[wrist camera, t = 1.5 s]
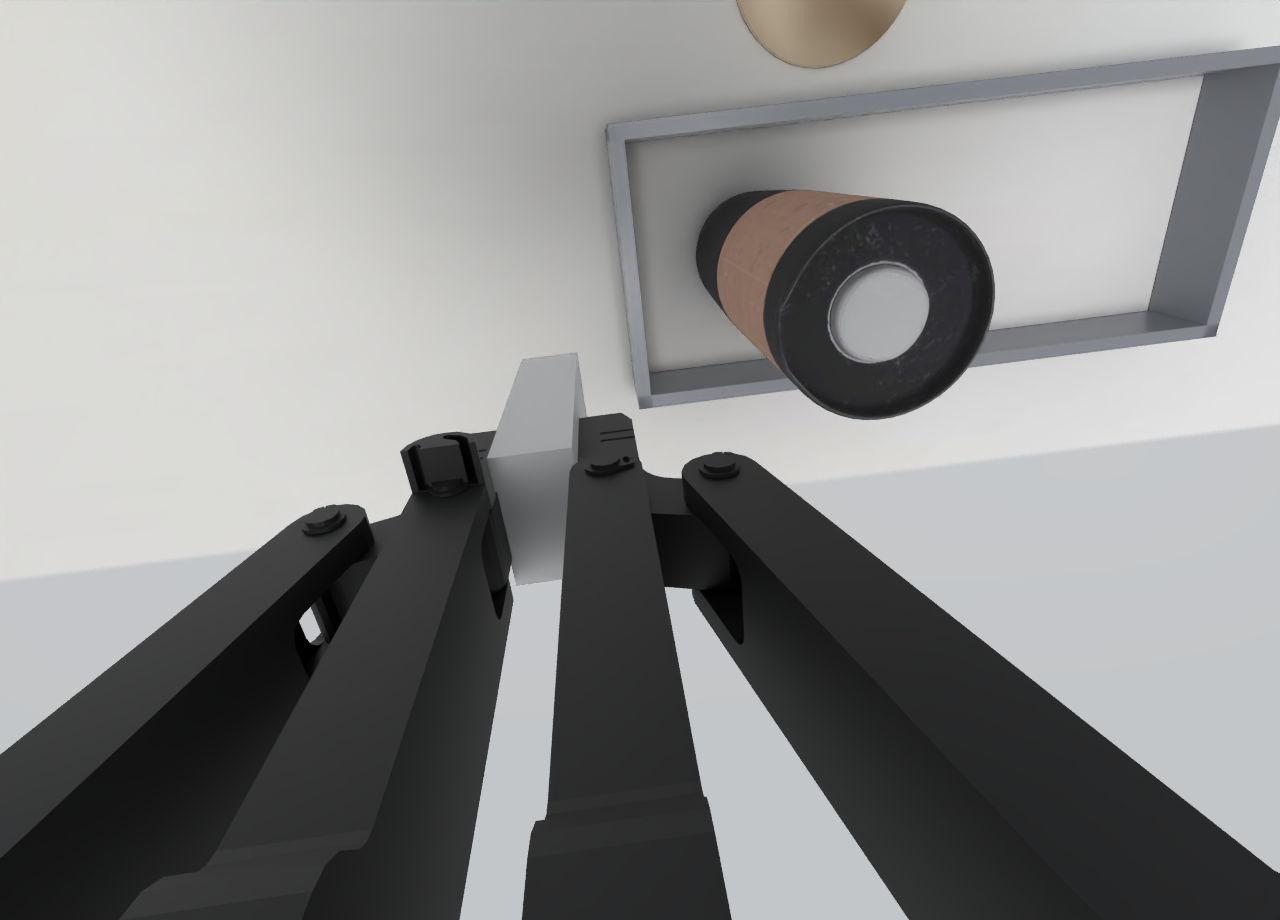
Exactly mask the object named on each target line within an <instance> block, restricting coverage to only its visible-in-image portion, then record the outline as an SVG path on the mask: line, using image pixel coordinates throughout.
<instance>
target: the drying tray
mask: <svg viewBox="0 0 1280 920" xmlns="http://www.w3.org/2000/svg"><path fill="white" fill-rule="evenodd" d="M1201 75H1205V76H1204V80H1203V84H1202V88H1201V92H1200V97H1199V101H1198V105H1197V109H1196V113H1195V117H1194V121H1193V126H1192V130H1191V134H1190V138H1189V142H1188V146H1187V151H1186V155H1185V159H1184V163H1183V167H1182V171H1181V175H1180V180H1179V184H1178V188H1177V192H1176V196H1175V200H1174V204H1173V209H1172V213H1171V217H1170V221H1169V225H1168V229H1167V234H1166V238H1165V242H1164V246H1163V250H1162V254H1161V258H1160V263H1159V267H1158V271H1157V275H1156V279H1155V283H1154V287H1153V292H1152V296H1151V300H1150V304H1149V308H1148V311H1143V312H1135V313H1127V314H1119V315H1111V316H1103V317H1095V318H1087V319H1079V320H1071V321H1063V322H1055V323H1047V324H1039V325H1031V326H1023V327H1015V328H1007V329H999V330H992V331H988V332H987V335H986V337H985V340H984V342H983V344H982V346H981V348H980V350H979V352H978V353H977V355H976V357H975V358H974V360H973V361H972V363H971V364H970V366H969V367H977V366H985V365H993V364H1001V363H1009V362H1017V361H1025V360H1033V359H1040V358H1048V357H1056V356H1064V355H1072V354H1080V353H1088V352H1096V351H1104V350H1112V349H1119V348H1127V347H1135V346H1143V345H1151V344H1159V343H1167V342H1175V341H1183V340H1191V339H1198V338H1206V337H1214V336H1216V333H1217V329H1218V326H1219V322H1220V319H1221V315H1222V312H1223V309H1224V305H1225V302H1226V298H1227V295H1228V291H1229V288H1230V285H1231V281H1232V278H1233V274H1234V271H1235V268H1236V264H1237V261H1238V257H1239V254H1240V250H1241V247H1242V244H1243V240H1244V237H1245V233H1246V230H1247V226H1248V223H1249V220H1250V216H1251V213H1252V209H1253V206H1254V203H1255V199H1256V196H1257V192H1258V189H1259V185H1260V182H1261V179H1262V175H1263V172H1264V168H1265V165H1266V161H1267V158H1268V155H1269V151H1270V148H1271V144H1272V141H1273V138H1274V134H1275V131H1276V127H1277V124H1278V120H1279V117H1280V46H1272V47H1264V48H1255V49H1246V50H1238V51H1229V52H1221V53H1212V54H1204V55H1195V56H1186V57H1178V58H1169V59H1161V60H1152V61H1143V62H1135V63H1126V64H1118V65H1109V66H1100V67H1092V68H1083V69H1075V70H1066V71H1058V72H1049V73H1040V74H1032V75H1023V76H1015V77H1006V78H997V79H989V80H980V81H972V82H963V83H955V84H946V85H937V86H929V87H920V88H912V89H903V90H894V91H886V92H877V93H869V94H860V95H852V96H843V97H834V98H826V99H817V100H809V101H800V102H791V103H783V104H774V105H766V106H757V107H749V108H740V109H731V110H723V111H714V112H706V113H697V114H688V115H680V116H671V117H663V118H654V119H646V120H637V121H628V122H620V123H611V124H607V126H606V128H605V133H606V142H607V151H608V159H609V168H610V177H611V185H612V194H613V203H614V211H615V220H616V229H617V237H618V246H619V254H620V263H621V272H622V280H623V289H624V298H625V306H626V315H627V324H628V332H629V341H630V350H631V358H632V367H633V375H634V384H635V390H636V395H637V399H638V404H639V409H646V408H654V407H662V406H669V405H677V404H685V403H693V402H701V401H709V400H717V399H725V398H733V397H740V396H748V395H756V394H764V393H772V392H780V391H788V390H796V389H798V388H797V387H796V386H795V385H794V384H793V383H792V382H791V381H790V380H789V379H788V378H787V377H786V376H785V375H784V374H783V373H782V372H781V371H780V370H779V369H778V368H777V367H776V366H775V365H774V364H773V363H772V362H771V361H770V360H769V359H760V360H752V361H744V362H736V363H728V364H720V365H712V366H705V367H697V368H689V369H681V370H673V371H665V372H657V373H649V370H648V361H647V351H646V341H645V332H644V322H643V313H642V303H641V294H640V284H639V274H638V265H637V255H636V246H635V236H634V227H633V217H632V208H631V198H630V188H629V179H628V169H627V160H626V150H625V143H629V142H638V141H646V140H655V139H664V138H672V137H681V136H689V135H698V134H706V133H715V132H723V131H732V130H740V129H749V128H757V127H766V126H774V125H783V124H791V123H800V122H809V121H817V120H826V119H834V118H843V117H851V116H860V115H868V114H877V113H885V112H894V111H902V110H911V109H919V108H928V107H936V106H945V105H954V104H962V103H971V102H979V101H988V100H996V99H1005V98H1013V97H1022V96H1030V95H1039V94H1047V93H1056V92H1064V91H1073V90H1081V89H1090V88H1099V87H1107V86H1116V85H1124V84H1133V83H1141V82H1150V81H1158V80H1167V79H1175V78H1184V77H1192V76H1201ZM969 367H968V368H969Z"/></svg>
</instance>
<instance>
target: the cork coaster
mask: <svg viewBox="0 0 1280 920" xmlns="http://www.w3.org/2000/svg"><path fill="white" fill-rule="evenodd" d="M905 2H906V0H737V3H738V6H739V9H740V11H741V14H742V16H743V19H744V21H745V23H746V24H747V26H748V28H749V30H750V31H751V33H752V34H753V35H754V37H755V38H756V39H757V41H758V42H759V43H760V44H761V45H762V46H763V47H764V48H765V49H766V50H767V51H769V52H770V53H771V54H773V55H774V56H775V57H777V58H779V59H781V60H783V61H785V62H787V63H790V64H793V65H795V66H800V67H806V68H822V67H829V66H833V65H836V64H840V63H842V62H845V61H847V60H849V59H851V58H853V57H856V56H857V55H859V54H860V53H862V52H864V51H865V50H867V49H868V48H869V47H870V46H872V45H873V44H874V43H875V42H877V41H878V40H879V38H880V37H881V36H882V35H883V34H884V33H885V32H886V31H887V30H888V29H889V27H890V26H891V25H892V23H893V22H894V21H895V19H896V18H897V16H898V14H899V13H900V11H901V9H902V8H903V6H904V4H905Z"/></svg>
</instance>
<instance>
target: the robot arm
mask: <svg viewBox="0 0 1280 920" xmlns="http://www.w3.org/2000/svg"><path fill="white" fill-rule="evenodd" d="M400 453H401V456H402V459H403V463H404V466H405V469H406V473H407V476H408V480H409V483H410V486H411V490H412V495H411V497H410V499H409V500H408V502H407V504H406V506H405V508H404V509H403V511H402V513H401V515H399V516H396V517H393V518H389V519H385V520H382V521H378V522H375V523H371V524H370V523H369V520H368V517H367V514H366V512H365V509H364V508H362V507H360V506H359V505H350V504H345V505H329V506H326V508H324V507H321V508H318V509H315V510H314V511H313V512H312V513H309V514H307V515H305V516H302V517H301V518H299V519H298V520H296V521H294V522H293V523H291V524H290V525H289V526H287V527H286V528H285V529H284V530H282V531H281V532H280V533H279V534H277V535H276V536H275V537H274V538H272V539H271V540H270V541H269V542H267V543H266V544H265V545H264V546H262V547H261V548H260V549H258V550H257V551H256V552H255V553H253V554H252V555H251V556H250V557H248V558H247V559H246V560H245V561H243V562H242V563H241V564H240V565H238V566H237V567H236V568H235V569H233V570H232V571H231V572H230V573H228V574H227V575H226V576H225V577H223V578H222V579H221V580H219V581H218V582H217V583H216V584H214V585H213V586H212V587H211V588H210V589H208V590H207V591H206V592H204V593H203V594H202V595H201V596H199V597H198V598H197V599H196V600H194V601H193V602H192V603H191V604H189V605H188V606H187V607H186V608H184V609H183V610H182V611H180V612H179V613H178V614H177V615H176V616H174V617H173V618H172V619H170V620H169V621H168V622H167V623H165V624H164V625H163V626H162V627H160V628H159V629H158V630H157V631H155V632H154V633H153V634H152V635H150V636H149V637H148V638H146V639H145V640H144V641H143V642H142V643H140V644H139V645H138V646H136V647H135V648H134V649H133V650H131V651H130V652H129V653H128V654H126V655H125V656H124V657H123V658H121V659H120V660H119V661H118V662H116V663H115V664H114V665H112V666H111V667H110V668H109V669H107V670H106V671H105V672H104V673H102V674H101V675H100V676H99V677H97V678H96V679H95V680H94V681H92V682H91V683H90V684H89V685H87V686H86V687H85V688H84V689H82V690H81V691H80V692H79V693H77V694H76V695H75V696H73V697H72V698H71V699H70V700H68V701H67V702H66V703H65V704H63V705H62V706H61V707H60V708H58V709H57V710H56V711H55V712H53V713H52V714H51V715H50V716H48V717H47V718H46V719H45V720H43V721H42V722H41V723H40V724H38V725H37V726H36V727H35V728H33V729H32V730H31V731H29V732H28V733H27V734H26V735H24V736H23V737H22V738H21V739H19V740H18V741H17V742H16V743H14V744H13V745H12V746H11V747H9V748H8V749H7V750H6V751H4V752H3V753H2V754H0V920H459V919H460V913H461V907H462V901H463V895H464V889H465V883H466V878H467V872H468V866H469V860H470V854H471V848H472V842H473V836H474V830H475V824H476V819H477V812H478V807H479V801H480V795H481V789H482V783H483V777H484V771H485V765H486V759H487V754H488V747H489V742H490V735H491V730H492V724H493V718H494V712H495V706H496V700H497V695H498V689H499V683H500V676H501V670H502V664H503V658H504V653H505V647H506V641H507V635H508V630H509V623H510V618H511V612H512V606H513V596H512V591H511V586H510V582H509V578H508V577H509V571H510V566H511V565H512V569H513V573H514V578H515V582H516V585H524V584H531V583H538V582H546V581H553V580H560V579H562V595H561V610H560V625H559V641H558V655H557V670H556V686H555V701H554V718H553V732H552V747H551V762H550V763H551V764H550V778H549V794H548V805H547V814H546V817H545V820H540V821H536V822H535V824H534V827H533V830H532V832H531V837H530V845H529V851H528V858H527V869H526V880H525V891H524V902H523V913H522V920H732V919H731V914H730V909H729V904H728V898H727V893H726V888H725V883H724V878H723V872H722V867H721V862H720V857H719V852H718V846H717V841H716V836H715V831H714V826H713V822H712V817H711V813H710V807H709V804H708V801H707V797H704V795H703V791H702V787H701V781H700V776H699V771H698V765H697V760H696V754H695V749H694V744H693V738H692V733H691V728H690V723H689V718H688V711H687V706H686V700H685V695H684V690H683V684H682V679H681V674H680V668H679V663H678V657H677V652H676V647H675V641H674V636H673V631H672V625H671V620H670V614H669V609H668V604H667V598H666V593H665V587H675V588H687V589H692V595H693V598H694V601H695V604H696V605H697V607H698V608H699V610H700V611H701V612H702V614H703V615H704V617H705V618H706V620H707V621H708V623H709V624H710V626H711V627H712V629H713V630H714V632H715V633H716V635H717V636H718V638H719V639H720V641H721V642H722V644H723V645H724V647H725V648H726V649H727V651H728V652H729V654H730V655H731V657H732V658H733V660H734V661H735V663H736V664H737V666H738V667H739V668H740V670H741V671H742V673H743V675H744V676H745V677H746V679H747V681H748V682H749V684H750V685H751V687H752V688H753V689H754V691H755V692H756V694H757V695H758V697H759V698H760V700H761V701H762V703H763V704H764V706H765V707H766V709H767V710H768V712H769V713H770V714H771V716H772V718H773V719H774V721H775V722H776V724H777V725H778V726H779V728H780V729H781V731H782V732H783V734H784V735H785V737H786V738H787V740H788V741H789V742H790V744H791V746H792V747H793V749H794V750H795V752H796V753H797V755H798V756H799V757H800V759H801V761H802V762H803V763H804V765H805V766H806V768H807V769H808V771H809V772H810V774H811V775H812V777H813V778H814V780H815V781H816V783H817V784H818V786H819V787H820V789H821V790H822V791H823V793H824V795H825V796H826V797H827V799H828V800H829V802H830V803H831V805H832V806H833V808H834V809H835V811H836V812H837V814H838V815H839V817H840V818H841V820H842V821H843V822H844V824H845V826H846V827H847V829H848V830H849V832H850V833H851V835H852V836H853V837H854V839H855V840H856V842H857V843H858V845H859V846H860V848H861V849H862V851H863V852H864V854H865V855H866V857H867V858H868V860H869V861H870V863H871V864H872V866H873V867H874V868H875V870H876V872H877V873H878V874H879V876H880V878H881V879H882V880H883V882H884V883H885V885H886V886H887V888H888V889H889V891H890V892H891V894H892V895H893V897H894V898H895V900H896V901H897V903H898V904H899V906H900V907H901V909H902V910H903V912H904V913H905V915H906V916H907V917H908V919H909V920H1280V873H1278V872H1276V871H1274V870H1273V869H1271V868H1270V867H1269V866H1267V865H1266V864H1265V863H1264V862H1262V861H1261V860H1260V859H1259V858H1257V857H1256V856H1255V855H1253V854H1252V853H1251V852H1250V851H1249V850H1247V849H1246V848H1245V847H1243V846H1242V845H1241V844H1240V843H1238V842H1237V841H1236V840H1235V839H1233V838H1232V837H1231V836H1229V835H1228V834H1227V833H1226V832H1224V831H1223V830H1222V829H1221V828H1219V827H1218V826H1217V825H1215V824H1214V823H1213V822H1212V821H1210V820H1209V819H1208V818H1207V817H1205V816H1204V815H1203V814H1201V813H1200V812H1199V811H1198V810H1196V809H1195V808H1194V807H1193V806H1191V805H1190V804H1189V803H1188V802H1186V801H1185V800H1184V799H1183V798H1181V797H1180V796H1179V795H1177V794H1176V793H1175V792H1174V791H1172V790H1171V789H1170V788H1168V787H1167V786H1166V785H1165V784H1164V783H1162V782H1161V781H1160V780H1159V779H1157V778H1156V777H1155V776H1153V775H1152V774H1151V773H1149V772H1148V771H1147V770H1146V769H1145V768H1143V767H1142V766H1141V765H1140V764H1138V763H1137V762H1136V761H1134V760H1133V759H1132V758H1131V757H1129V756H1128V755H1127V754H1126V753H1124V752H1123V751H1122V750H1120V749H1119V748H1118V747H1117V746H1115V745H1114V744H1113V743H1112V742H1110V741H1109V740H1108V739H1107V738H1105V737H1104V736H1103V735H1101V734H1100V733H1099V732H1098V731H1096V730H1095V729H1094V728H1093V727H1091V726H1090V725H1089V724H1087V723H1086V722H1085V721H1084V720H1082V719H1081V718H1080V717H1079V716H1077V715H1076V714H1075V713H1074V712H1072V711H1071V710H1070V709H1069V708H1067V707H1066V706H1065V705H1063V704H1062V703H1061V702H1059V701H1058V700H1057V699H1056V698H1055V697H1053V696H1052V695H1051V694H1049V693H1048V692H1047V691H1046V690H1044V689H1043V688H1042V687H1040V686H1039V685H1038V684H1037V683H1036V682H1034V681H1033V680H1032V679H1030V678H1029V677H1028V676H1026V675H1025V674H1024V673H1023V672H1021V671H1020V670H1019V669H1018V668H1016V667H1015V666H1014V665H1013V664H1011V663H1010V662H1009V661H1008V660H1006V659H1005V658H1004V657H1003V656H1001V655H1000V654H999V653H997V652H996V651H995V650H994V649H992V648H991V647H990V646H989V645H987V644H986V643H985V642H984V641H982V640H981V639H980V638H979V637H977V636H976V635H975V634H973V633H972V632H971V631H970V630H968V629H967V628H966V627H965V626H963V625H962V624H961V623H960V622H958V621H957V620H956V619H954V618H953V617H952V616H951V615H949V614H948V613H947V612H945V611H944V610H943V609H942V608H940V607H939V606H938V605H937V604H935V603H934V602H933V601H932V600H930V599H929V598H928V597H927V596H925V595H924V594H923V593H921V592H920V591H919V590H918V589H916V588H915V587H914V586H913V585H911V584H910V583H909V582H908V581H906V580H905V579H904V578H902V577H901V576H900V575H899V574H897V573H896V572H895V571H894V570H892V569H891V568H890V567H888V566H887V565H886V564H884V563H883V562H882V561H881V560H880V559H878V558H877V557H876V556H875V555H873V554H872V553H871V552H869V551H868V550H867V549H866V548H864V547H863V546H862V545H861V544H859V543H858V542H857V541H856V540H854V539H853V538H852V537H851V536H849V535H848V534H847V533H845V532H844V531H843V530H841V529H840V528H839V527H838V526H837V525H835V524H834V523H833V522H831V521H830V520H829V519H828V518H826V517H825V516H824V515H822V514H821V513H820V512H819V511H818V510H816V509H815V508H814V507H812V506H811V505H810V504H809V503H807V502H806V501H805V500H803V499H802V498H801V497H800V496H798V495H797V494H796V493H795V492H793V491H792V490H791V489H790V488H788V487H787V486H786V485H785V484H783V483H782V482H781V481H780V480H778V479H777V478H776V477H774V476H773V475H772V474H771V473H769V472H768V471H767V470H766V469H764V468H763V467H762V466H761V465H759V464H758V463H757V462H755V461H754V460H752V459H750V458H748V457H746V456H743V455H738V454H733V453H731V452H724V453H722V452H715V453H712V454H709V455H704V456H701V457H698V458H695V459H692V460H691V461H690V462H688V463H687V464H685V465H684V467H683V469H682V479H679V478H664V477H659V476H655V475H652V474H650V473H647V472H646V471H645V470H643V469H642V463H641V461H640V460H639V457H638V451H637V446H636V441H635V435H634V430H633V425H632V419H630V418H628V417H627V416H625V415H624V414H622V413H616V414H608V415H600V416H592V417H587V415H586V408H585V402H584V395H583V389H582V382H581V376H580V369H579V363H578V356H577V353H569V354H562V355H554V356H546V357H538V358H530V359H522V361H521V364H520V367H519V370H518V372H517V375H516V378H515V381H514V384H513V387H512V389H511V392H510V395H509V398H508V401H507V403H506V406H505V409H504V412H503V415H502V417H501V420H500V423H499V426H498V429H497V431H489V432H481V433H473V434H469V433H462V432H450V433H442V434H437V435H432V436H429V437H425V438H422V439H419V440H417V441H415V442H413V443H411V444H409V445H407V446H406V447H405V448H404V449H403V450H402V451H400ZM310 607H311V609H312V611H313V614H314V616H315V619H316V621H317V623H318V626H319V628H320V631H321V633H320V635H319V636H318V637H317V638H316V639H315V640H314V641H312V642H311V643H310V642H309V641H308V640H307V639H306V637H305V634H304V632H303V630H302V627H301V625H300V623H299V620H300V619H301V617H302V615H303V614H304V613H305V612H306V611H307V610H308V609H309V608H310Z"/></svg>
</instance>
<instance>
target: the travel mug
mask: <svg viewBox="0 0 1280 920" xmlns="http://www.w3.org/2000/svg"><path fill="white" fill-rule="evenodd" d="M696 260H697V268H698V272H699V275H700V278H701V280H702V282H703V284H704V286H705V287H706V289H707V290H708V292H709V293H710V295H711V296H712V297H713V299H714V300H715V301H716V303H717V304H718V305H719V306H720V308H721V309H722V310H723V312H724V313H725V314H726V316H727V317H728V318H729V319H730V321H731V322H732V323H733V324H734V325H735V326H736V327H737V329H738V330H739V331H740V332H741V333H742V334H744V335H745V336H746V337H747V338H748V339H749V340H750V341H751V342H752V343H753V344H754V345H755V346H756V347H757V348H758V349H759V350H760V351H761V352H762V353H763V354H764V355H765V356H766V357H767V358H768V359H769V360H770V361H771V362H772V363H773V364H774V365H775V366H776V367H777V368H778V369H779V370H780V371H781V372H782V373H783V374H784V375H785V376H786V377H787V378H788V379H789V380H790V381H791V382H792V383H793V384H794V385H795V386H796V387H797V388H798V389H799V390H800V391H801V392H802V393H803V394H804V395H806V396H807V397H808V398H809V399H811V400H812V401H813V402H814V403H816V404H817V405H819V406H821V407H822V408H824V409H826V410H828V411H830V412H832V413H835V414H837V415H840V416H844V417H848V418H852V419H861V420H878V419H885V418H891V417H895V416H899V415H903V414H906V413H908V412H911V411H913V410H916V409H918V408H920V407H922V406H924V405H925V404H927V403H929V402H931V401H932V400H934V399H935V398H937V397H938V396H940V395H941V394H942V393H943V392H945V391H946V390H947V389H948V388H949V387H951V386H952V385H953V384H954V383H955V382H956V381H957V380H958V379H959V378H960V377H961V376H962V374H963V373H964V372H965V371H966V369H967V368H968V367H969V366H970V364H971V363H972V361H973V360H974V358H975V357H976V355H977V353H978V352H979V350H980V348H981V346H982V344H983V342H984V340H985V337H986V335H987V332H988V329H989V326H990V323H991V319H992V315H993V309H994V300H995V283H994V276H993V270H992V266H991V263H990V260H989V257H988V255H987V253H986V250H985V248H984V246H983V244H982V243H981V241H980V240H979V238H978V237H977V235H976V234H975V233H974V232H973V231H972V230H971V229H970V228H969V227H968V225H967V224H965V223H964V222H963V221H961V220H960V219H959V218H957V217H956V216H955V215H953V214H951V213H949V212H947V211H945V210H943V209H941V208H938V207H935V206H931V205H928V204H925V203H918V202H912V201H903V200H894V199H884V198H875V197H866V196H857V195H848V194H839V193H829V192H820V191H811V190H774V191H754V192H747V193H743V194H740V195H737V196H734V197H732V198H730V199H728V200H727V201H725V202H724V203H722V204H721V205H720V206H719V207H717V208H716V209H715V210H714V212H713V213H712V214H711V215H710V216H709V218H708V219H707V221H706V222H705V224H704V226H703V228H702V230H701V233H700V235H699V239H698V243H697V249H696Z"/></svg>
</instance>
